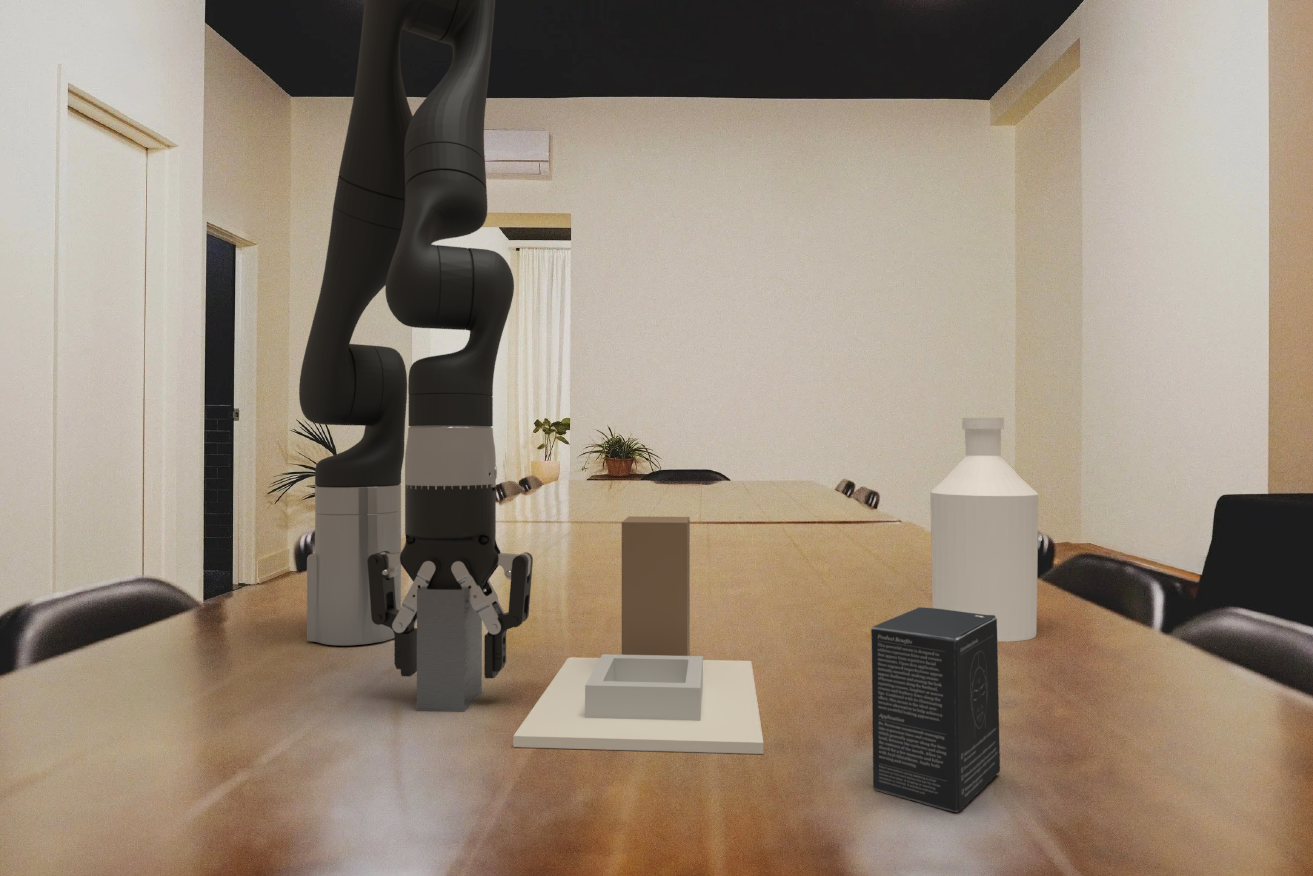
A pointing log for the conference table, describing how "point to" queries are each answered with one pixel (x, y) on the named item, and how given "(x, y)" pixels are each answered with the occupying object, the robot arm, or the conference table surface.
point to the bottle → (986, 536)
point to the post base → (650, 668)
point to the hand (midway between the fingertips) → (450, 674)
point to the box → (935, 706)
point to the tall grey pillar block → (447, 650)
